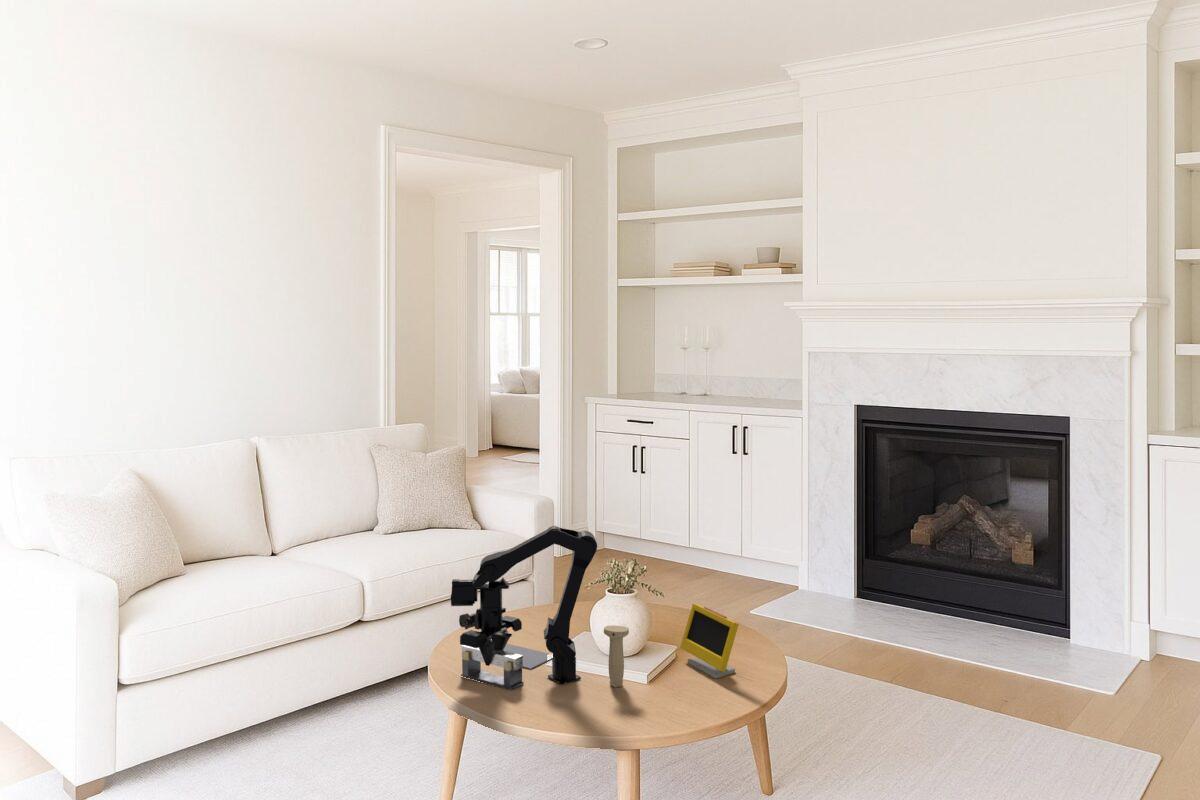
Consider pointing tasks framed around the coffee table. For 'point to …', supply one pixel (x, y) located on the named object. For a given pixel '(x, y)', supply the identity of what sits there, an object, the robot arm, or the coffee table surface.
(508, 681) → the grey stand
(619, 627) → the handle
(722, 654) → the yellow framed monitor
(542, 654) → the mat
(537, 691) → the coffee table surface
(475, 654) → the rail
